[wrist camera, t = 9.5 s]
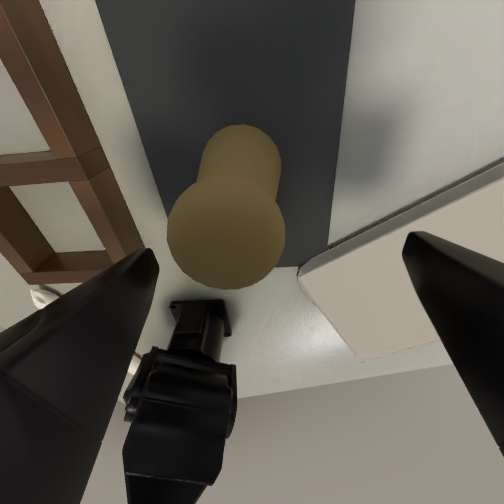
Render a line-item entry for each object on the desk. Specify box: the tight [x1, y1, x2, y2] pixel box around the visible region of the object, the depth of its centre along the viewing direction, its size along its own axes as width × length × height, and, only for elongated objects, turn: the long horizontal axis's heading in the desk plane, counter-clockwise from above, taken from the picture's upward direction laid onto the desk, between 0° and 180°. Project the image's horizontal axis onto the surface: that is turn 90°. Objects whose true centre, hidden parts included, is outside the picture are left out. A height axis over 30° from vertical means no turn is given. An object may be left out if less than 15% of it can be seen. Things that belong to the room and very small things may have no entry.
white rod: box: [31, 289, 141, 375], centre depth 31 cm, size 18×2×2 cm, turn 24°
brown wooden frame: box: [0, 0, 145, 285], centre depth 18 cm, size 20×11×3 cm, turn 5°
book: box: [297, 162, 504, 362], centre depth 22 cm, size 15×23×4 cm, turn 126°
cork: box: [167, 124, 285, 290], centre depth 14 cm, size 6×6×11 cm
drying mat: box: [95, 0, 355, 267], centre depth 19 cm, size 20×14×1 cm
